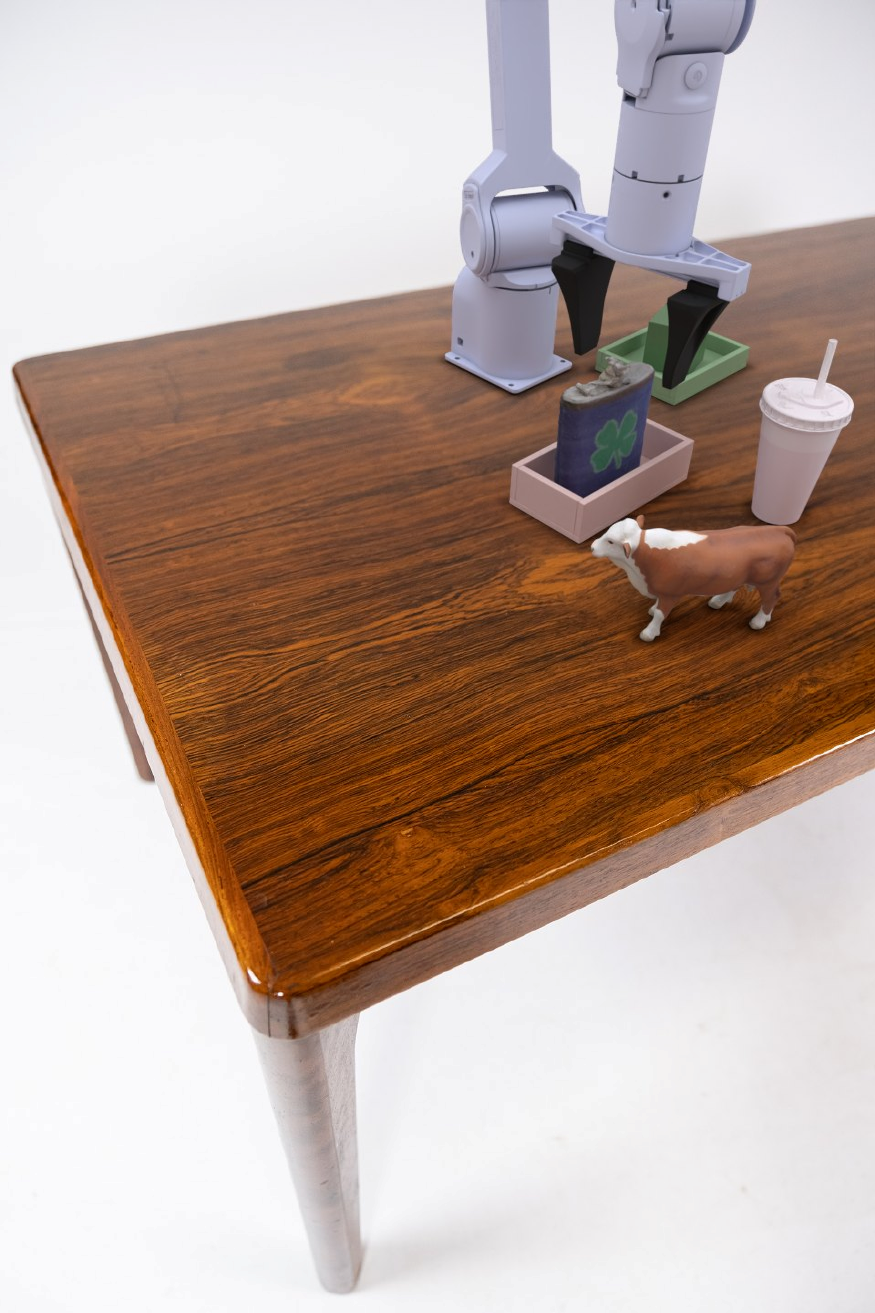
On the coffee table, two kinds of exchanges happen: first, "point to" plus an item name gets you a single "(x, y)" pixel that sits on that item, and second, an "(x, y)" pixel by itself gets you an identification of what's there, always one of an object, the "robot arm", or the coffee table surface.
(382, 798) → the coffee table surface
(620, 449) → the flask
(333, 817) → the coffee table surface
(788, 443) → the smoothie
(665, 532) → the bull figurine
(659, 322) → the green block
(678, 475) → the pink tray
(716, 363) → the green tray
